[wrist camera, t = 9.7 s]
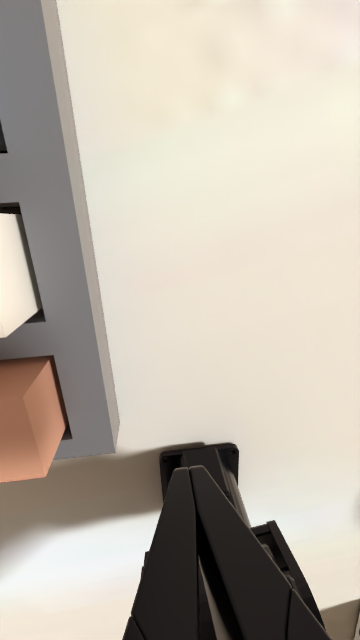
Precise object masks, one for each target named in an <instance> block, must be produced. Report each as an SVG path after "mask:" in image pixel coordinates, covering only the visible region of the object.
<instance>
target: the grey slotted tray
mask: <svg viewBox="0 0 360 640" xmlns="http://www.w3.org/2000/svg"><path fill="white" fill-rule="evenodd" d="M0 121H1V125H2V130H3V134H4V139H5V143H6V147H7V152H8V153H1V154H0V207H16V206H20V209H21V213H22V218H23V222H24V227H25V231H26V235H27V240H28V244H29V249H30V253H31V257H32V262H33V266H34V271H35V275H36V280H37V284H38V288H39V293H40V297H41V302H42V306H43V308H41V309H40V310H39V311H37V312H36V313H35V314H34V315H33V316H31V317H30V318H29V319H28V320H26V321H25V322H24V323H23V324H22V325H20V326H19V327H18V328H17V329H15V330H14V331H13V332H12V333H11V334H9V335H8V336H7V337H4V338H0V360H4V359H15V358H26V357H37V356H48V355H54V359H55V363H56V368H57V372H58V376H59V381H60V385H61V390H62V394H63V398H64V403H65V407H66V412H67V416H68V423H67V426H66V428H65V431H64V433H63V436H62V438H61V441H60V443H59V446H58V448H57V451H56V453H55V456H54V458H53V460H58V459H66V458H75V457H83V456H91V455H100V454H108V453H115V451H116V444H117V437H118V430H119V423H120V421H119V414H118V408H117V401H116V394H115V388H114V381H113V374H112V368H111V361H110V355H109V348H108V341H107V335H106V328H105V321H104V315H103V308H102V302H101V295H100V288H99V282H98V275H97V268H96V262H95V255H94V249H93V242H92V235H91V229H90V222H89V215H88V209H87V202H86V196H85V189H84V182H83V176H82V169H81V162H80V156H79V149H78V143H77V136H76V129H75V123H74V116H73V109H72V103H71V96H70V90H69V83H68V76H67V70H66V63H65V56H64V50H63V43H62V36H61V30H60V23H59V17H58V10H57V3H56V0H0Z"/></svg>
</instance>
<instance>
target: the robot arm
mask: <svg viewBox="0 0 360 640" xmlns="http://www.w3.org/2000/svg"><path fill="white" fill-rule="evenodd" d="M231 450H233V451H231ZM165 458H167V459H165ZM159 461H160V472H161V482H162V492H163V503H164V504H163V507H162V511H161V514H160V517H159V520H158V524H157V527H156V530H155V534H154V537H153V540H152V544H151V547H150V550H149V551H147V552H145V559H144V566H143V567H142V572H141V580H140V584H139V587H138V590H137V593H136V597H135V600H134V603H133V607H132V610H131V616H130V617H129V619H128V623H127V626H126V629H125V633H124V636H123V639H122V640H332V639H331V637H330V636H329V635H328V633H327V632H326V630H325V627H324V624H323V621H322V618H321V615H320V613H319V610H318V607H317V605H316V602H315V600H314V597H313V595H312V593H311V590H310V588H309V586H308V584H307V582H306V580H305V577H304V575H303V574H302V572H301V570H300V568H299V566H298V564H297V562H296V560H295V558H294V556H293V554H292V553H291V551H290V549H289V547H288V545H287V543H286V541H285V539H284V537H283V535H282V533H281V531H280V530H279V528H278V526H277V524H276V522H275V520H273V521H269V522H267V524H264V525H260V526H256V527H251V525H250V522H249V519H248V516H247V513H246V510H245V507H244V504H243V501H242V498H241V495H240V492H239V489H238V464H239V450H238V448H237V446H236V445H235V444H227V445H219V446H210V447H202V448H194V449H186V450H178V451H169V452H163V453H161V454H160V456H159Z"/></svg>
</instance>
